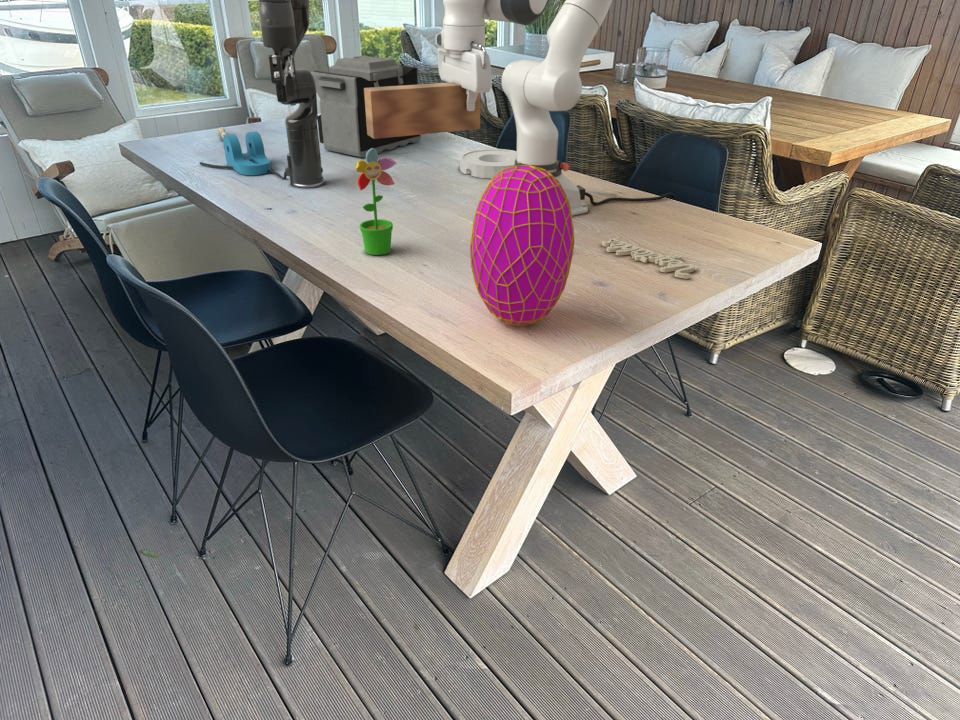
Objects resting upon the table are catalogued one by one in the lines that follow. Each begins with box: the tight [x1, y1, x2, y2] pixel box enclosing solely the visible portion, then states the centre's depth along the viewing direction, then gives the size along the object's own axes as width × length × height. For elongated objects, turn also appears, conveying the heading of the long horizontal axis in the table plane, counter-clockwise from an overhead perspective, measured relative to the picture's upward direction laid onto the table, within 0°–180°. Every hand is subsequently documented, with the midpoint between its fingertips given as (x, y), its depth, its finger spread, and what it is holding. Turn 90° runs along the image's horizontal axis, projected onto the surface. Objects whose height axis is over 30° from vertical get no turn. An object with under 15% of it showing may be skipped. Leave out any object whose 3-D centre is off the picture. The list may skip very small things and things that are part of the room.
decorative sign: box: [601, 237, 696, 280], centre depth 164 cm, size 26×1×10 cm
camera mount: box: [222, 131, 272, 176], centre depth 226 cm, size 18×10×10 cm, turn 35°
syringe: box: [218, 127, 229, 142], centre depth 264 cm, size 25×4×3 cm, turn 21°
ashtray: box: [459, 148, 517, 180], centre depth 231 cm, size 23×23×4 cm
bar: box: [364, 82, 481, 139], centre depth 148 cm, size 25×4×10 cm, turn 116°
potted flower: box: [355, 148, 397, 256], centre depth 160 cm, size 9×8×25 cm
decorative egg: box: [469, 165, 576, 326], centre depth 128 cm, size 19×19×30 cm
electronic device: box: [310, 55, 422, 159], centre depth 250 cm, size 37×22×30 cm, turn 144°
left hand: (286, 98), depth 165 cm, fingers open, 8 cm apart
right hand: (464, 108), depth 152 cm, fingers closed on bar, 4 cm apart
